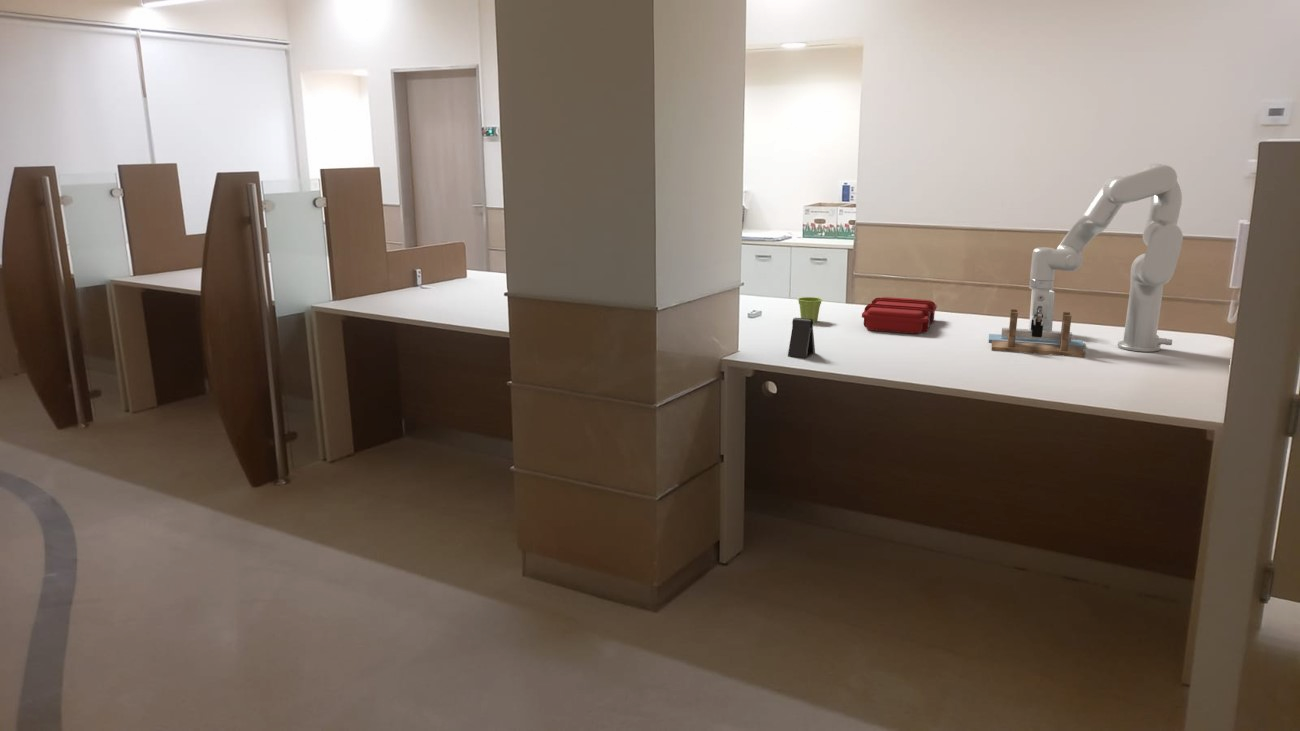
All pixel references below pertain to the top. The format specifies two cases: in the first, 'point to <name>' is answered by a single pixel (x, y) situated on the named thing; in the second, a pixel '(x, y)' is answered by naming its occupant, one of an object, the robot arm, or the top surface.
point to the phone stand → (801, 338)
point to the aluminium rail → (1027, 335)
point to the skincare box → (1048, 322)
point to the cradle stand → (1039, 348)
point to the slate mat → (1073, 342)
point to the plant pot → (809, 307)
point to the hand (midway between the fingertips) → (1036, 333)
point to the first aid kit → (899, 315)
